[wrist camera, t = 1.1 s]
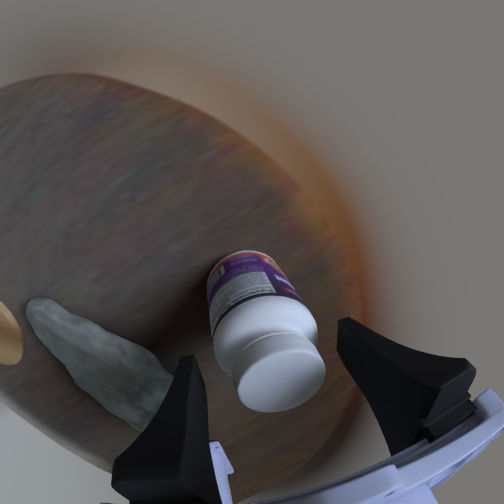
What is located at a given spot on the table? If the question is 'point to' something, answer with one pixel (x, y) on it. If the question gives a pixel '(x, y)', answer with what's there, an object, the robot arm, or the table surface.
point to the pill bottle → (263, 333)
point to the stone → (102, 362)
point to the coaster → (10, 338)
